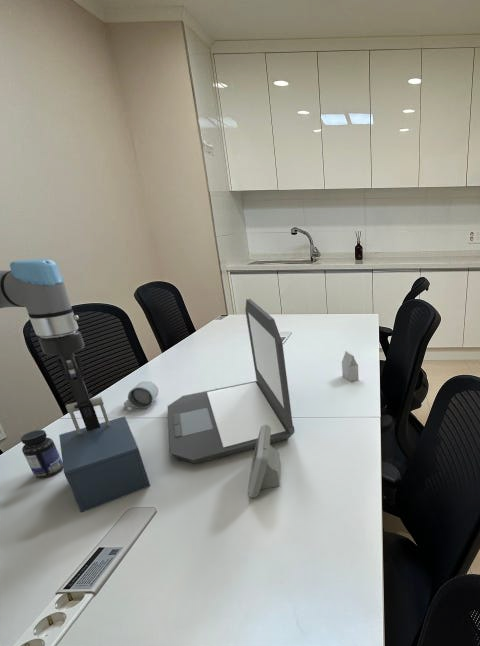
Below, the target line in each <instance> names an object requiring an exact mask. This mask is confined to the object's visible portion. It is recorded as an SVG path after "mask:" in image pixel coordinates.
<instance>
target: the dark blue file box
mask: <svg viewBox="0 0 480 646" xmlns="http://www.w3.org/2000/svg"><path fill="white" fill-rule="evenodd" d="M64 476H65V479H66V481H67V484H68V485H69V488H70V490H71V493H72V495H73V497H74V500H75V502H76V504H77V507H78V509H79V511H80V513H83V512H85V511H88V510H91V509H93V508H96V507H99V506H102V505H104V504H106V503H107V504H108V503H109V502H112V501H114V500H117V499H120V498H123V497H125V496H127V495H131V494H133V493H136V492H138V491H141V490H143V489H145V488H149V487H151V484H150V480H149V476H148V474H147V471H146V467H145V465H144V462H143V459H142V456H141V452H140V450H139V451H137V452H134V453H131V454H128V455H125V456H122V457H119V458H116V459H113V460H110V461H107V462H103V463H100V464H97V465H94V466H91V467H88V468H85V469H82V470H79V471H76V472H73V473H70V474H67V475H65V474H64Z"/></svg>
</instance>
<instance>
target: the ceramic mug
mask: <svg viewBox="0 0 480 646" xmlns="http://www.w3.org/2000/svg"><path fill="white" fill-rule="evenodd" d="M158 395H159V387H158V386H157V384H155V383H154V382H152V381H149V380H144V381H141V382H139V383H137V384H136V385H135V386H134V387H132V389H130V391H129V392H128V394H127V400H125V401H124V402H123V406H125V407H126V408H128V407H131V406H132V407H134V408H135V409H139V410H141V409H143V410H144V409H147V408H149V407H151V406H152V405H153V403H154V402H155V401H156V399H157V397H158Z"/></svg>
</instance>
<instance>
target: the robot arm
mask: <svg viewBox="0 0 480 646" xmlns="http://www.w3.org/2000/svg"><path fill="white" fill-rule="evenodd" d="M56 263H57V262H55V261H54V260H52V259H50V258H36V259H35V258H32V259H21V260H15V261H11V262H10V264H9V268H10V270H0V309H4V308H25V309H26V311H27V314H28V315H27V316H28V318H29V320H30V323H31V325H32V328H33V330H34V334H35V335H36V336H38V337H39V338H38V342H39V345H40V347H41V350H42V353H43V354H44V355H46V356H59V357H60V358H57V359H56V360H57V364H58V367H59V369H60V370H61V371H62V373H63V376H64V379H65V380H66V381H67V382H68V384H69V386H70V389H71V392H72V395H73V396H74V400H75V402H77V405H74V407H75V409H76V408H79V414H80V416H81V419H82V421H83V424H84V428H85V427H86V429H87V431H90V430H94V429H97V428H101V427H100V424H99V423H100V421H99V419H98V415H97V413H96V410H95V406H94V407H93V405H92V402H91V401H90V399H92V398H94V395H93V393H89V390H88V389H87V387H86V383H85V381H84V377H85V375H84V372H83V368H82V361H81V358H80V356H79V354H75V352H80V350H83V349H84V348H85V346H86V345H85V344H86V343H85V341H84V338H83V335H82V333H81V331H79V330H78V329H79V325H78V322H77V321H78V320H79V319H80V317H79V316H78V315H77V314H75V313H74V309H73V307H72V304H71V301H70V298H69V294H68V291H67V289H66V285H65V283H64V282H65V281H64V278H63V276H62V274H61V272H60V269H59V268H58V265H57V264H56Z"/></svg>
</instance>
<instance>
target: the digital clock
mask: <svg viewBox="0 0 480 646" xmlns="http://www.w3.org/2000/svg"><path fill="white" fill-rule="evenodd" d="M270 435H271V428H270V427H269V426H268V425H263V426H261V429H260V432H259V436H258V440H257V444H256V447H255V448H254V451H253V456H252V461H251V468H250V475H249V481H248V486H247V487H248V489H247V495H248V496H249V497H250V498H251V499H254V498H257V497H258V496H259V495H260V492H261V490H262V489H263V490H264V489H269V488H278V487H280V486H281V468H282V467H281V465H282V464H281V457H280V452H279V450H278V449H277V448H274V447H273V446H272V444H270Z"/></svg>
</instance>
